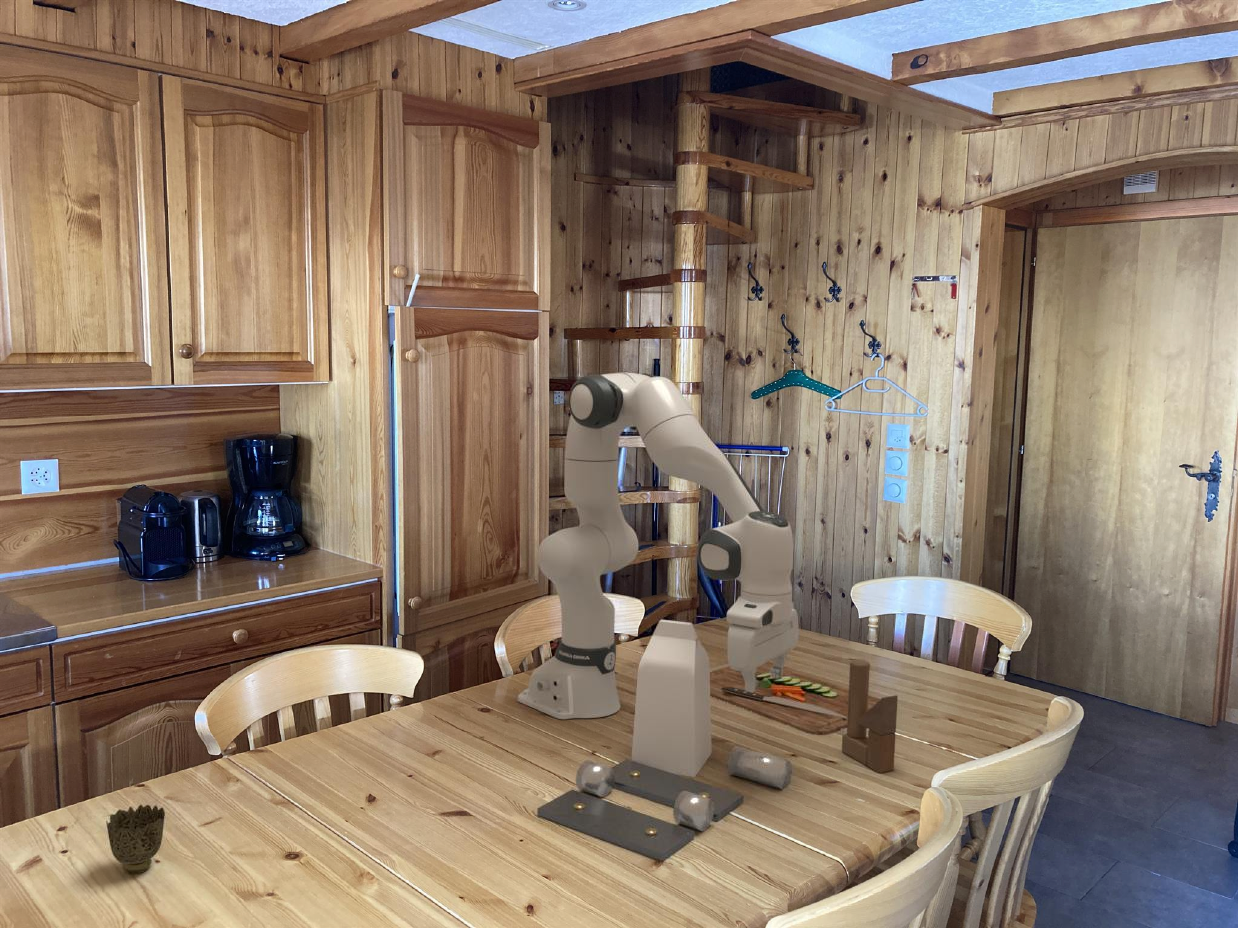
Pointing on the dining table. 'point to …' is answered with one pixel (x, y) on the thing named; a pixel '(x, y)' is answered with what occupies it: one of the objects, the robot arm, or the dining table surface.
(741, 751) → the knuckle
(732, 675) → the chopping board
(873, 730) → the wooden block
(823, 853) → the dining table surface
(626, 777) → the hinge base
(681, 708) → the milk
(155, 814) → the cup
